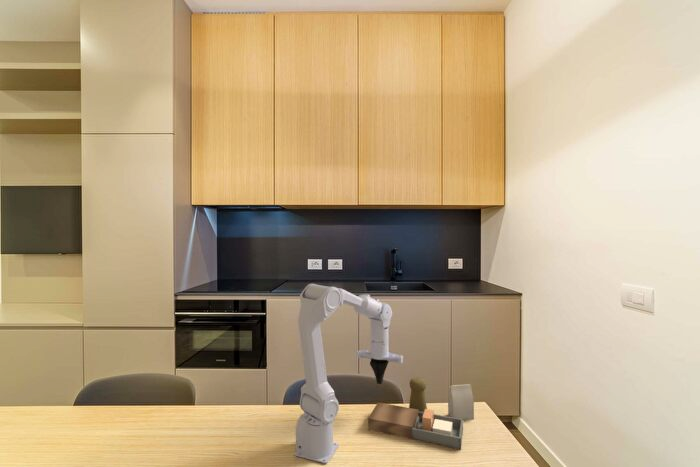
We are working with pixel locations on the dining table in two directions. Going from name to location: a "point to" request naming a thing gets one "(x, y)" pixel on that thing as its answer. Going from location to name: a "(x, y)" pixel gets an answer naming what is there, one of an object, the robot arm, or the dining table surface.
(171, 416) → the dining table surface
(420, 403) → the olive pepper mill
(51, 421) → the dining table surface
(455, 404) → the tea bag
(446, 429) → the cream ceramic tile
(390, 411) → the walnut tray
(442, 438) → the tray
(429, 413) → the terracotta tile
